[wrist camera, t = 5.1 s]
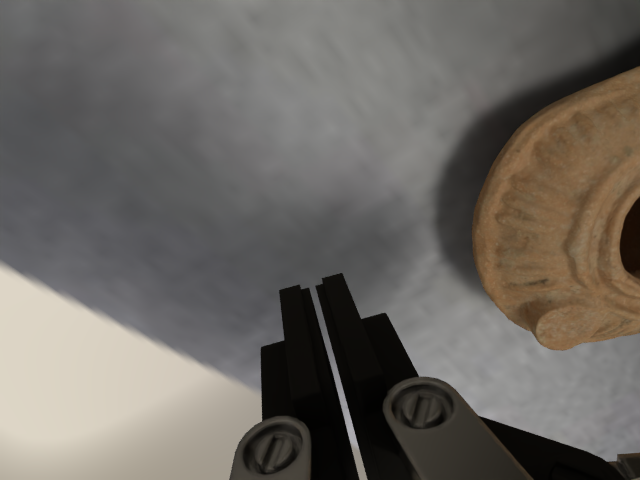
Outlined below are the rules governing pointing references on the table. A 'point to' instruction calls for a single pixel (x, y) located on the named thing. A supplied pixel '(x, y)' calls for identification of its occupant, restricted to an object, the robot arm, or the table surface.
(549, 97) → the table surface
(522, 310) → the pottery oil lamp
